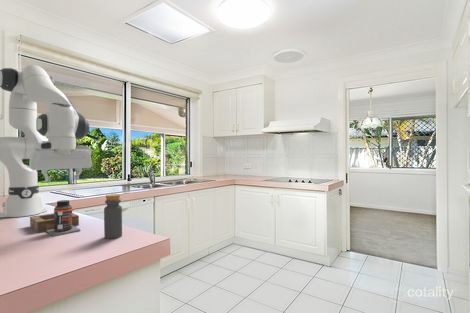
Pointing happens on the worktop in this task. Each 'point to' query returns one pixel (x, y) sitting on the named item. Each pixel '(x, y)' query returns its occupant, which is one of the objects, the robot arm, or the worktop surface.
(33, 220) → the frame
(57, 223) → the supplement bottle
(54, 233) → the grey mat
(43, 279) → the worktop surface
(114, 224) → the bottle
